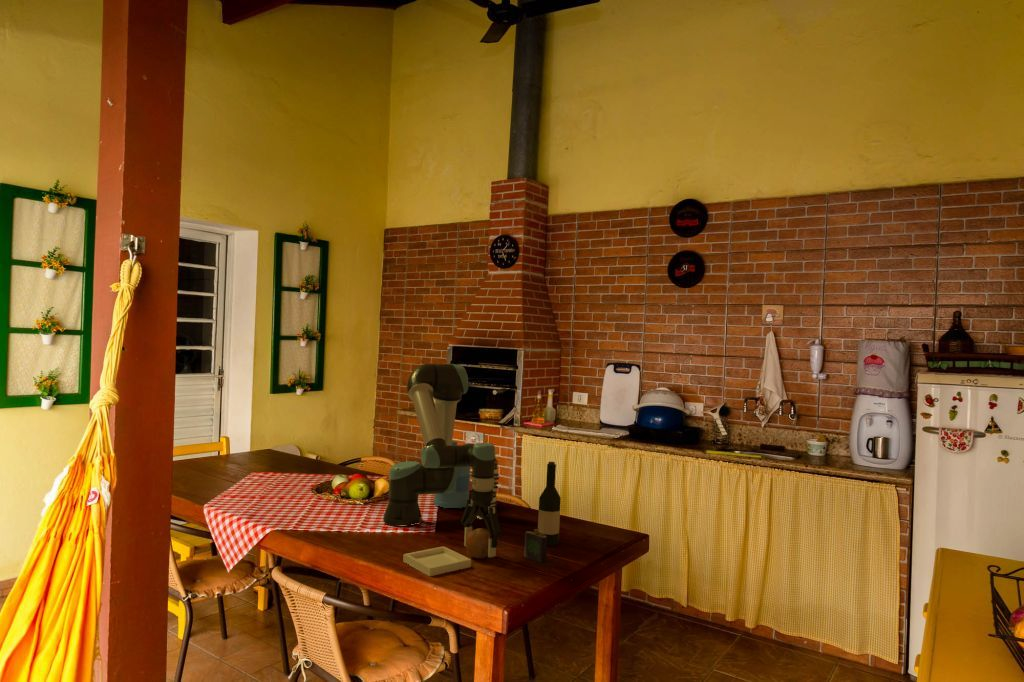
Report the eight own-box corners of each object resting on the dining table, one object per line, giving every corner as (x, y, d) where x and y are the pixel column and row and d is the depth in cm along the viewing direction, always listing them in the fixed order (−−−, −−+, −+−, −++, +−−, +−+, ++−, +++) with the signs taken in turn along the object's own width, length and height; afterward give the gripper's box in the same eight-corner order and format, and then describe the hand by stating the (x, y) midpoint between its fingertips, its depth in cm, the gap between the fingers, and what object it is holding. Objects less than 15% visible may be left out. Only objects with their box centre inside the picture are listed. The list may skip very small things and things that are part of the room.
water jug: (432, 500, 310) (435, 438, 310) (466, 500, 313) (469, 439, 313) (434, 509, 295) (437, 444, 295) (471, 509, 298) (473, 445, 297)
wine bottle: (562, 542, 257) (566, 462, 257) (552, 547, 250) (556, 465, 250) (543, 537, 261) (546, 459, 261) (532, 543, 254) (536, 462, 254)
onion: (485, 551, 242) (486, 523, 242) (498, 560, 233) (499, 531, 233) (460, 554, 237) (461, 525, 237) (472, 564, 228) (473, 534, 228)
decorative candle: (472, 519, 282) (475, 458, 282) (477, 513, 292) (480, 454, 291) (494, 521, 281) (497, 460, 281) (499, 515, 290) (501, 456, 290)
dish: (403, 561, 227) (403, 554, 227) (443, 553, 238) (443, 546, 238) (429, 576, 215) (429, 568, 215) (470, 566, 225) (471, 559, 225)
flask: (522, 557, 238) (524, 526, 237) (528, 555, 240) (529, 525, 240) (542, 564, 231) (544, 532, 231) (548, 562, 234) (550, 531, 233)
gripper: (452, 483, 242) (449, 543, 242) (496, 498, 223) (493, 563, 223) (469, 480, 247) (467, 539, 247) (514, 495, 228) (511, 559, 228)
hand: (479, 551), depth 235 cm, fingers open, 13 cm apart
